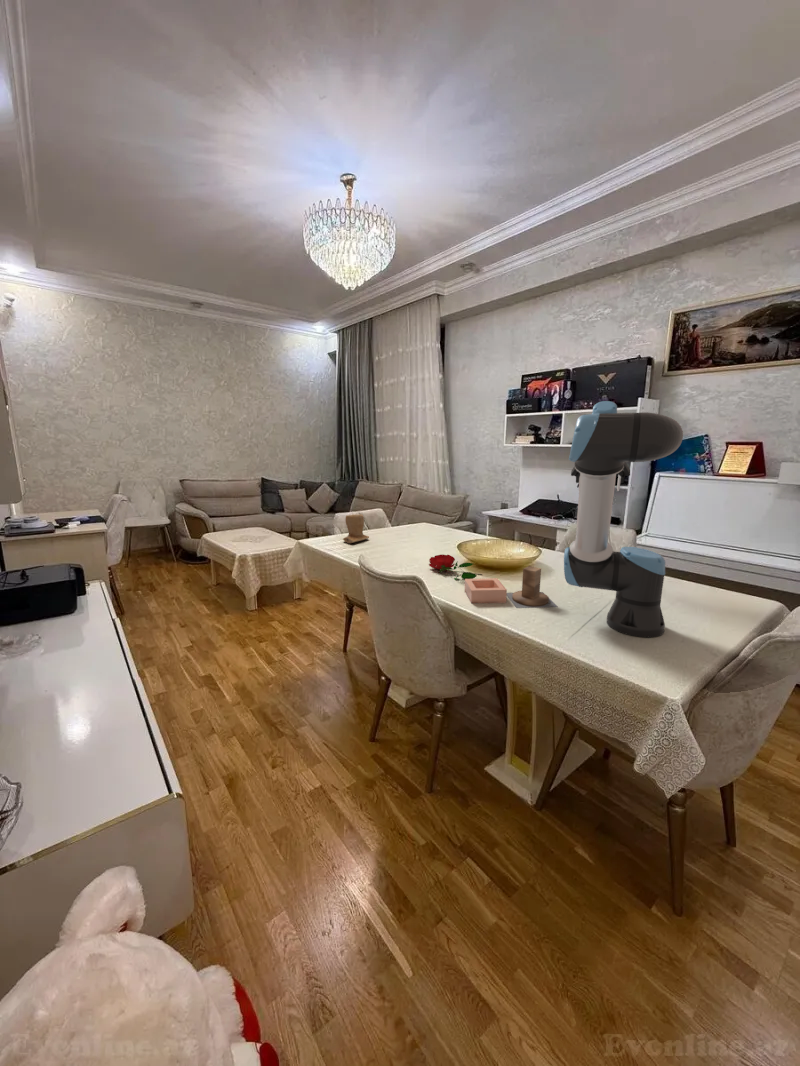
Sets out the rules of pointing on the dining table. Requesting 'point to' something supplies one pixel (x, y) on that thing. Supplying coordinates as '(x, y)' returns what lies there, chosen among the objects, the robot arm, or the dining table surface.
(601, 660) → the dining table surface
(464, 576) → the flower
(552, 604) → the mat
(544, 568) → the dining table surface
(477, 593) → the dish
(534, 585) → the lid
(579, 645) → the dining table surface
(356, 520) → the wooden stamp
